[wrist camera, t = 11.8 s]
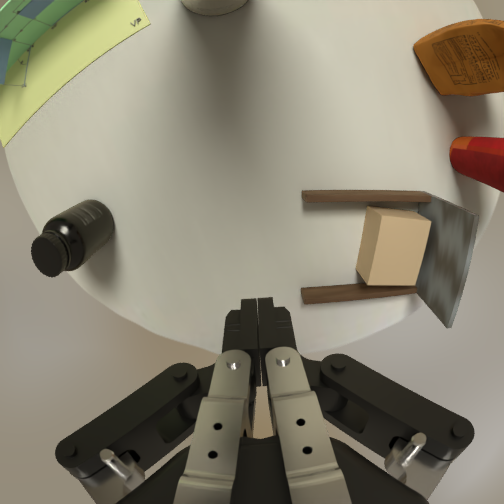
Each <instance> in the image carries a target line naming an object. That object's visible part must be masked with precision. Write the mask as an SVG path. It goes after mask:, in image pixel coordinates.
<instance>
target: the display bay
mask: <svg viewBox="0 0 504 504" xmlns="http://www.w3.org/2000/svg"><path fill="white" fill-rule="evenodd" d="M302 198H303V199H304V200H305V201H306V202H350V201H402V202H419V210H418V214H419V215H421V216H423V217H425V218H427V219H428V220H430V221H431V226H430V231H429V235H428V239H427V243H426V248H425V251H424V255H423V259H422V263H421V267H420V270H419V274H418V277H417V280H416V284H415V285H367V284H366V283H359V284H347V285H335V286H321V287H307V288H301V294H302V298H303V301H304V304H316V303H329V302H340V301H351V300H361V299H370V298H380V297H388V296H397V295H405V294H413V293H417V294H418V295H419V297H420V298H421V299H422V300H423V301H424V302H425V303H426V304H427V306H428V307H429V308H430V309H431V310H432V311H433V313H434V314H435V315H436V316H437V317H438V318H439V320H440V321H441V322H442V323H443V324H444V326H445V327H446V328H451V327H452V324H453V321H454V318H455V316H456V312H457V309H458V306H459V303H460V300H461V296H462V293H463V289H464V286H465V282H466V278H467V274H468V270H469V266H470V262H471V257H472V253H473V248H474V243H475V238H476V232H477V226H478V220H479V216H478V215H476V214H474V213H472V212H470V211H468V210H466V209H464V208H462V207H459V206H457V205H455V204H453V203H450V202H448V201H446V200H444V199H441V198H439V197H437V196H434V195H432V194H429V193H427V192H425V191H396V190H309V191H302Z"/></svg>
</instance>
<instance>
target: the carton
mask: <svg viewBox="0 0 504 504" xmlns="http://www.w3.org/2000/svg"><path fill="white" fill-rule="evenodd" d="M430 226H431V221H430V220H428V219H427V218H425V217H423V216H421V215H419V214H418V213H416V212H414V211H408V210H401V209H393V208H384V207H376V206H367V209H366V216H365V222H364V228H363V233H362V239H361V244H360V250H359V255H358V260H357V265H356V270H357V271H358V273H359V274H360V275H361V277H362V278H363V280H364V281H365V282H366V284H367V285H415V284H416V280H417V277H418V274H419V270H420V267H421V263H422V259H423V255H424V251H425V248H426V243H427V239H428V235H429V231H430Z"/></svg>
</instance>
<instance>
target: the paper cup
mask: <svg viewBox="0 0 504 504" xmlns="http://www.w3.org/2000/svg"><path fill="white" fill-rule="evenodd" d="M450 161H451V164H452V166H453V168H454V169H455V170H456V171H457V172H459V173H461V174H463V175H465V176H468V177H470V178H473V179H475V180H477V181H480V182H482V183H484V184H487V185H489V186H491V187H493V188H495V189H497V190H499V191H501V192H504V138H494V137H458V138H456V139H455V140H454V141H453V142H452V144H451V147H450Z"/></svg>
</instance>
